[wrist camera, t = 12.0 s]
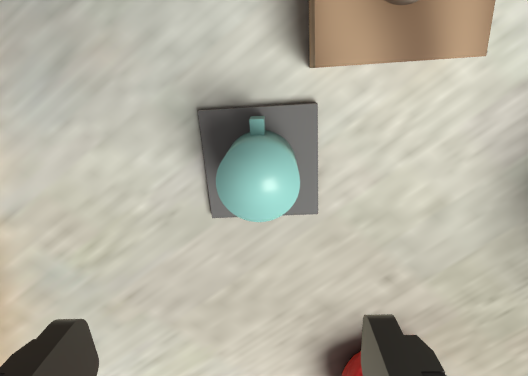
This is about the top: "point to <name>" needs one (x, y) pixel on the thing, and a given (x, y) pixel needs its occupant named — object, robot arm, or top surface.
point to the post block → (396, 30)
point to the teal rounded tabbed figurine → (258, 175)
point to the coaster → (276, 120)
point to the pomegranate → (353, 366)
